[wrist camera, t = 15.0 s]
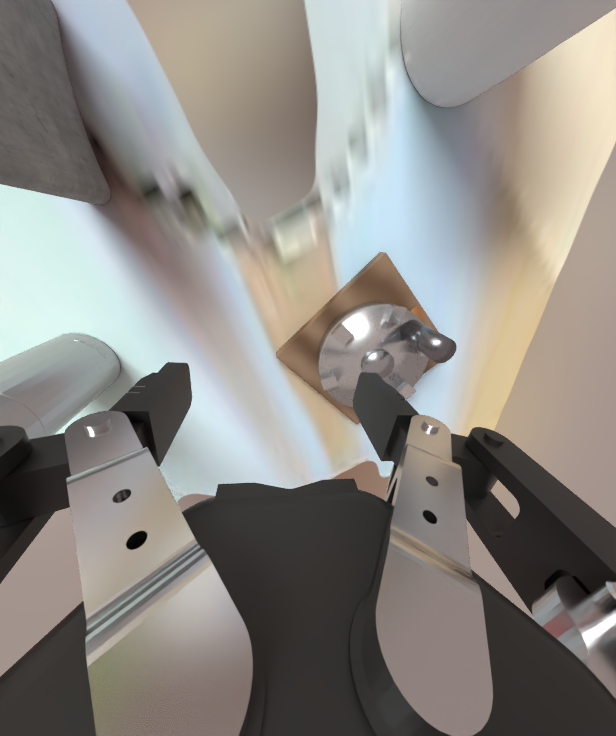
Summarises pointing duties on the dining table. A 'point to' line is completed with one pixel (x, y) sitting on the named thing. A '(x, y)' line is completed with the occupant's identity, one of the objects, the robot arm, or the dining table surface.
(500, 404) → the dining table surface
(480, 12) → the utensil holder
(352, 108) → the dining table surface
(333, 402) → the brown wooden board
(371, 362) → the silver round piece
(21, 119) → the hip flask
